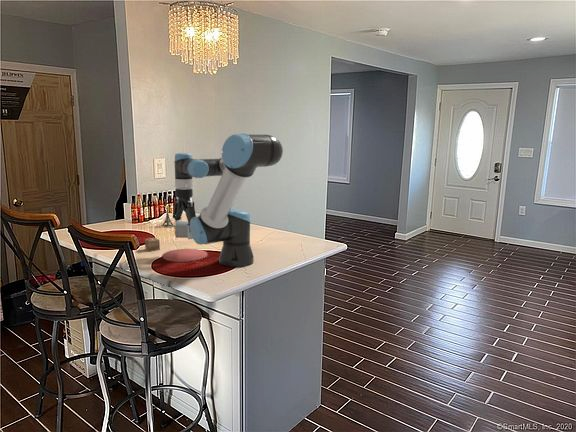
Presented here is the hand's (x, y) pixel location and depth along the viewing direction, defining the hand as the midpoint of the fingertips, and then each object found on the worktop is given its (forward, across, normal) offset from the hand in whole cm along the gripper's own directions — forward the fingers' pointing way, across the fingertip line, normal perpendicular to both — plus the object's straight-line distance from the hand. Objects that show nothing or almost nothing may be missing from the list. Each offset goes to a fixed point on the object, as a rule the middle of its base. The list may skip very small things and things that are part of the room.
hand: (184, 236), depth 199 cm
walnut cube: (+9, +19, +7) cm, 22 cm away
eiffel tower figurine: (+10, +64, -23) cm, 69 cm away
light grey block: (+1, +1, -1) cm, 1 cm away
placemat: (+9, 0, 0) cm, 9 cm away
